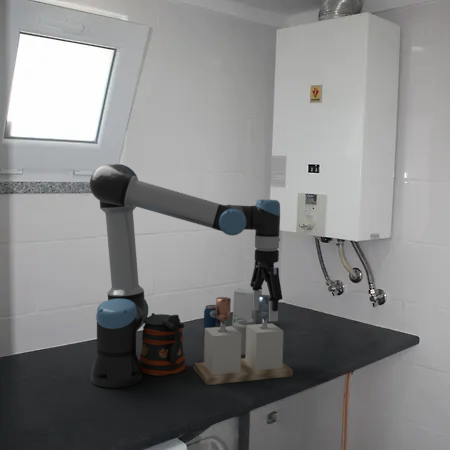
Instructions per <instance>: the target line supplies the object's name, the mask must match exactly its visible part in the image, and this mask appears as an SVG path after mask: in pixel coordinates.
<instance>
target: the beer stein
mask: <svg viewBox="0 0 450 450" xmlns="http://www.w3.org/2000/svg"><path fill="white" fill-rule="evenodd" d="M143 322H144V324H143V325H142V328H143V329H142V334H141V341H142V344H141V353H140V354H139V364H140V367H141V371H142V373H143V374H146V375H151V376H156V377H165V376H173V375H176V374H180V373H181V372H183V371H185V369H186V360H185V357H186V356H185V355H186V354H185V352H184V345H183V341H184V335H183V329H184V328H185V324H184V323H182V322H181V320H180V316H179V314H172V315H171V314H162V313H160V314H158V313H157V314H156V313H154V312H152V313H151V315H150V316H149V315H148V316H147V318H145V319H144V320H143Z"/></svg>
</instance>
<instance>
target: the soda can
mask: <svg viewBox="0 0 450 450" xmlns="http://www.w3.org/2000/svg"><path fill="white" fill-rule="evenodd" d="M213 327H220V319H217V318H216V304H209V305H208V304H207V305H206V306H205V308H204V310H203V336H204V337H205V328H213Z"/></svg>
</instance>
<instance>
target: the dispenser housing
mask: <svg viewBox="0 0 450 450" xmlns="http://www.w3.org/2000/svg"><path fill="white" fill-rule="evenodd" d="M203 343H204V344H203V345H204V346H203V347H204V351H203V355H204V357H203V362H204V366H205V367H206V368H207V369H208V370H209V371H210V372H211V374H212V375H216V374H226V373H236V372H241V359H242V356H241V333H240V332H238V331H237V330H236V329H235V328H233V327H232V325H230V326H225V332H223V333H220V327H213V328H205V336H204V342H203ZM283 353H284V330H283V329H282V328H280V327H279V326H278V325H275V324H274V323H268V322H267V329H262V323H257V324H256V323H255V325H246V356H244V359H245V361H246V362H247V363H248V364H249V365H250V366H251V367H252V368H253V369H254V370H256V371H257V370H267V369H277V368H282V362H283V360H284V359H283V355H284V354H283Z"/></svg>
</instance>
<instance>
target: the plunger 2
mask: <svg viewBox="0 0 450 450" xmlns="http://www.w3.org/2000/svg"><path fill="white" fill-rule="evenodd" d="M269 299H270V294H262V295H259V299H258V310H257V316H259V317H262V319H261V320H262V321H261V324H262V329H267V324H268V318H269Z"/></svg>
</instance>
